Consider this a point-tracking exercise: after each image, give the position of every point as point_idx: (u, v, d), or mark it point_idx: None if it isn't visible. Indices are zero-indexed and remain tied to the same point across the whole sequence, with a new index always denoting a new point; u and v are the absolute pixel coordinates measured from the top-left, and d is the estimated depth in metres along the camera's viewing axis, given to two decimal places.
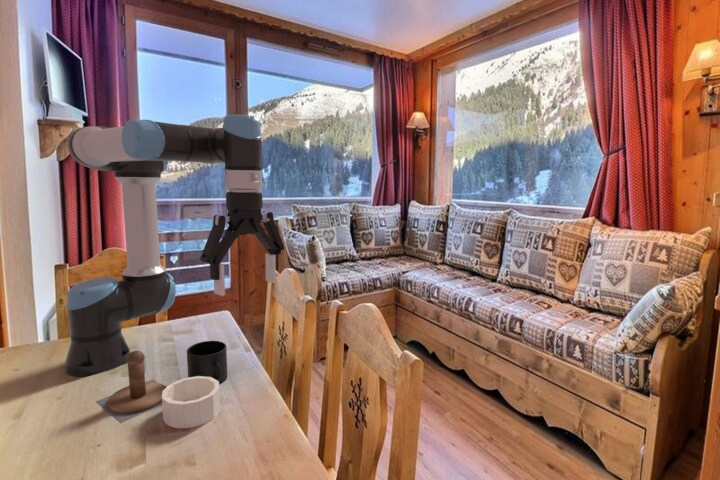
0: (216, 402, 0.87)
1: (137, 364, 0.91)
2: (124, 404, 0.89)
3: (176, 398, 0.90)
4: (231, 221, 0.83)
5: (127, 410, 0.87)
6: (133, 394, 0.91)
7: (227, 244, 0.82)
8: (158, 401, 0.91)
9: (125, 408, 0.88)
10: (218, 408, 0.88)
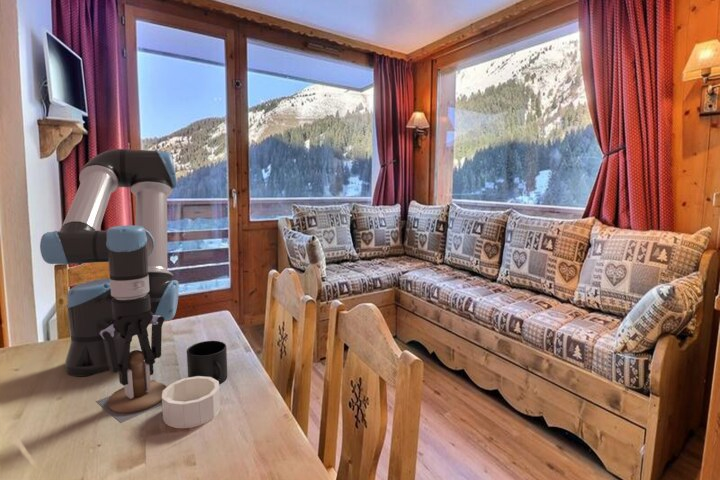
0: (216, 402, 0.87)
1: (137, 364, 0.91)
2: (124, 403, 0.89)
3: (176, 398, 0.90)
4: (117, 328, 0.87)
5: (127, 409, 0.87)
6: None
7: (125, 352, 0.89)
8: (158, 400, 0.91)
9: (125, 407, 0.88)
10: (218, 408, 0.88)
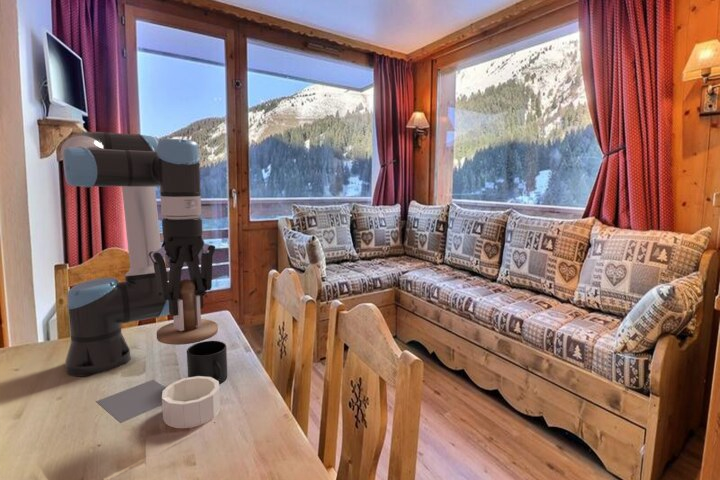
0: (216, 402, 0.87)
1: (188, 293, 0.83)
2: (175, 335, 0.82)
3: (176, 398, 0.90)
4: (168, 251, 0.79)
5: (179, 340, 0.80)
6: None
7: (176, 278, 0.81)
8: (211, 334, 0.84)
9: (177, 338, 0.80)
10: (218, 408, 0.88)
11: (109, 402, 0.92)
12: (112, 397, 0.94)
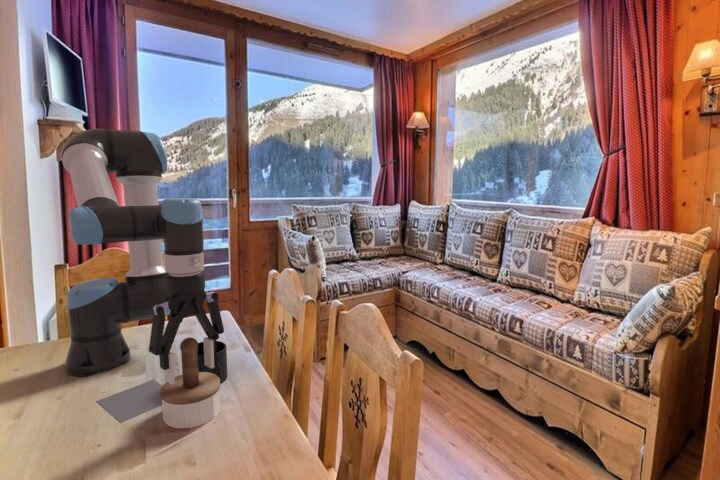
0: (216, 402, 0.87)
1: (191, 352, 0.85)
2: (178, 394, 0.84)
3: None
4: (171, 307, 0.81)
5: (183, 400, 0.82)
6: (187, 384, 0.86)
7: (172, 332, 0.82)
8: (213, 391, 0.86)
9: (181, 398, 0.82)
10: (218, 408, 0.88)
11: (109, 402, 0.92)
12: (112, 397, 0.94)
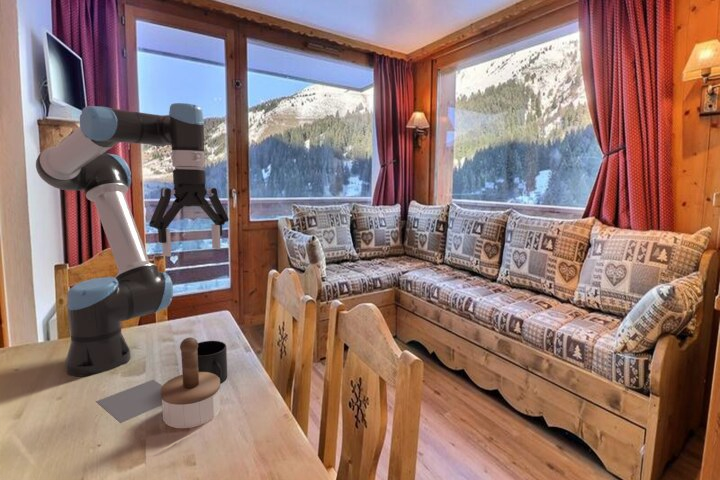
0: (216, 402, 0.87)
1: (191, 352, 0.85)
2: (178, 394, 0.84)
3: None
4: (176, 193, 0.98)
5: (183, 400, 0.82)
6: (187, 384, 0.86)
7: (173, 213, 0.97)
8: (213, 391, 0.86)
9: (181, 398, 0.82)
10: (218, 408, 0.88)
11: (109, 402, 0.92)
12: (112, 397, 0.94)
